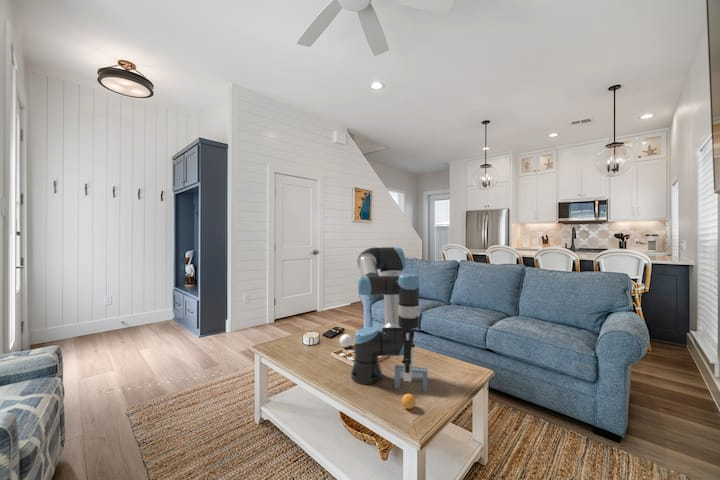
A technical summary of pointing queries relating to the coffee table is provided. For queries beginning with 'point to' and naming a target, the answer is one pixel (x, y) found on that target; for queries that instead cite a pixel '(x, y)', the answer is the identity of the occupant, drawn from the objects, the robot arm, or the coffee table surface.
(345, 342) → the geometric ball
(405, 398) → the ball
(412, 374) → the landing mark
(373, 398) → the coffee table surface
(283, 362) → the coffee table surface
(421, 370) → the bridge
